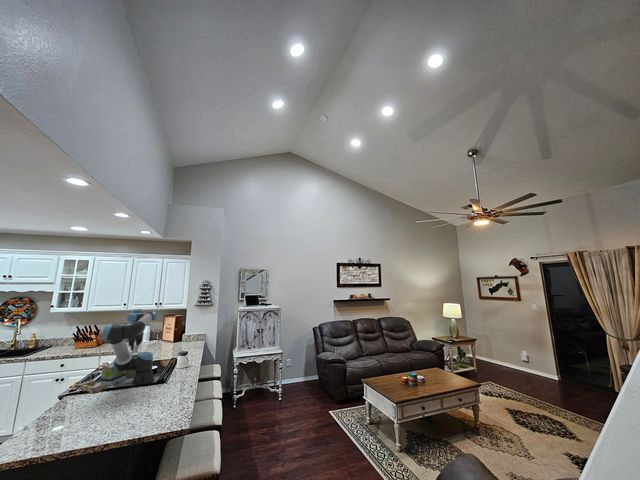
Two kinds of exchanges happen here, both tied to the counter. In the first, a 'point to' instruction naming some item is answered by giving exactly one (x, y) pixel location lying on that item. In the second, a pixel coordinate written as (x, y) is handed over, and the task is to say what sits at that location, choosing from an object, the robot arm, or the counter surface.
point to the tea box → (111, 375)
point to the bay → (91, 389)
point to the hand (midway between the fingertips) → (134, 353)
